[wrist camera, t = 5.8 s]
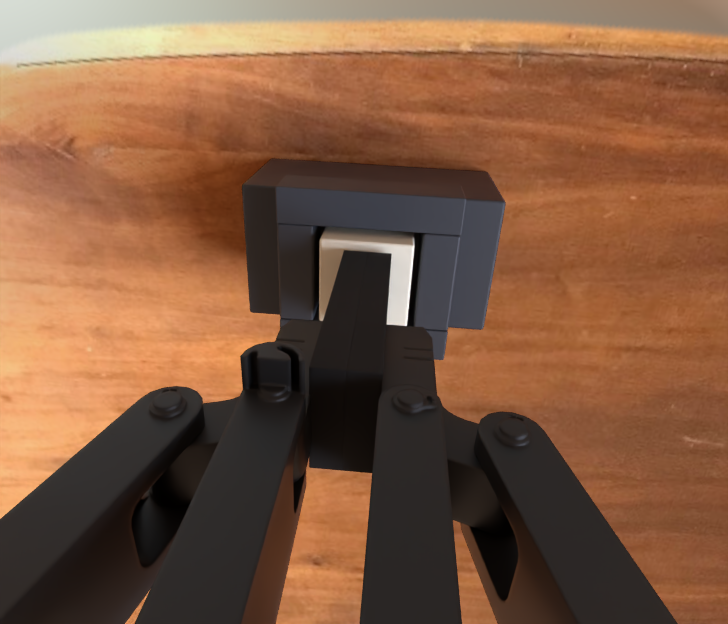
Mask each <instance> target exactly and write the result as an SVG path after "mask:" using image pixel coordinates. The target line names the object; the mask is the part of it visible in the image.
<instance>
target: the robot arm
mask: <svg viewBox="0 0 728 624" xmlns="http://www.w3.org/2000/svg"><path fill="white" fill-rule="evenodd" d="M391 256H392V254H391V253H377V252H362V251H348V250H344V252H343V255H342V259H341V262H340V265H339V269H338V272H337V275H336V279H335V282H334V285H333V289H332V292H331V296H330V299H329V302H328V306H327V309H326V312H325V316H324V319H323V321H317V320H304V319H292V320H290V321H289V322H288V323H286V324H285V325H284V326H282V327H281V329H280V331H279V333H278V336H277V338H276V340H275V342H266V343H262V344H258V345H255V346H253V347H251V348H249V349H247V350H246V351H245V352H244V353H243V354H242V355H241V356H240V357H241V369H242V382H243V391H242V393H241V395H240V396H239V397H236V398H234V399H230V400H225V401H219V402H211V403H204V404H203V401H202V397H201V396H200V395H199V393H198V392H197V391H195V390H192V389H190V388H188V387H179V386H174V387H166V388H161V389H158V390H155V391H152V392H150V393H148V394H147V395H145V396H144V397H142V398H141V399H139V400H138V401H137V402H136V403H135V404H134V405H132V406H131V407H130V408H129V409H128V410H127V411H125V412H124V413H123V414H122V415H121V416H120V417H118V418H117V419H116V420H115V421H114V422H113V423H111V424H110V425H109V426H108V427H107V428H106V429H105V430H103V431H102V432H101V433H100V434H99V435H98V436H96V437H95V438H94V439H93V440H92V441H91V442H89V443H88V444H87V445H86V446H85V447H84V448H82V449H81V450H80V451H79V452H78V453H77V454H75V455H74V456H73V457H72V458H71V459H70V460H68V461H67V462H66V463H65V464H64V465H63V466H62V467H60V468H59V469H58V470H57V471H56V472H55V473H53V474H52V475H51V476H50V477H49V478H48V479H46V480H45V481H44V482H43V483H42V484H41V485H39V486H38V487H37V488H36V489H35V490H34V491H32V492H31V493H30V494H29V495H28V496H27V497H25V498H24V499H23V500H22V501H21V502H20V503H19V504H17V505H16V506H15V507H14V508H13V509H12V510H10V511H9V512H8V513H7V514H6V515H5V516H3V517H2V518H1V519H0V624H125V623H126V621H127V620H128V619H129V617H130V616H131V615H132V613H133V612H134V610H135V609H136V608H137V606H138V605H139V604H140V602H141V601H142V600H143V598H144V597H145V596H146V594H147V593H148V591H149V590H150V592H149V594H148V596H147V598H146V600H145V602H144V604H143V607H142V609H141V611H140V613H139V615H138V617H137V620H136V622H135V624H276V619H277V615H278V610H279V606H280V601H281V597H282V592H283V588H284V583H285V579H286V574H287V570H288V565H289V561H290V556H291V552H292V547H293V543H294V538H295V534H296V529H297V525H298V520H299V516H300V511H301V507H302V502H303V498H304V493H305V489H306V467H307V462H308V458H309V467H310V468H321V469H333V470H344V471H355V472H366V473H372V484H371V496H370V507H369V519H368V531H367V543H366V555H365V566H364V578H363V590H362V602H361V614H360V624H462V619H461V608H460V597H459V586H458V575H457V564H456V552H455V541H454V530H453V520H455V521H458V522H460V523H461V530H462V533H463V535H464V538H465V540H466V543H467V546H468V548H469V551H470V553H471V556H472V558H473V561H474V564H475V566H476V569H477V571H478V574H479V576H480V579H481V582H482V584H483V587H484V589H485V592H486V594H487V597H488V600H489V602H490V605H491V607H492V610H493V612H494V615H495V618H496V620H497V623H498V624H677V622H676V621H675V619H674V618H673V616H672V615H671V613H670V612H669V611H668V609H667V608H666V606H665V605H664V603H663V602H662V600H661V599H660V598H659V596H658V595H657V593H656V592H655V590H654V589H653V587H652V586H651V585H650V583H649V582H648V580H647V579H646V577H645V576H644V574H643V573H642V572H641V570H640V569H639V567H638V566H637V564H636V563H635V561H634V560H633V558H632V557H631V556H630V554H629V553H628V551H627V550H626V548H625V547H624V545H623V544H622V543H621V541H620V540H619V538H618V537H617V535H616V534H615V532H614V531H613V530H612V528H611V527H610V525H609V524H608V522H607V521H606V519H605V518H604V517H603V515H602V514H601V512H600V511H599V509H598V508H597V506H596V505H595V504H594V502H593V501H592V499H591V498H590V496H589V495H588V493H587V492H586V491H585V489H584V488H583V486H582V485H581V483H580V482H579V480H578V479H577V478H576V476H575V475H574V473H573V472H572V470H571V469H570V467H569V466H568V464H567V463H566V462H565V460H564V459H563V457H562V456H561V454H560V453H559V451H558V450H557V449H556V447H555V446H554V444H553V443H552V441H551V440H550V438H549V437H548V436H547V434H546V433H545V431H544V430H543V429H542V428H541V427H540V426H539V425H538V424H537V423H536V422H534V421H532V420H531V419H529V418H527V417H525V416H522V415H519V414H516V413H512V412H496V413H491V414H488V415H487V416H485V417H484V418H482V419H481V421H480V423H479V424H477V423H474V422H471V421H467V420H464V419H462V418H459V417H457V416H455V415H453V414H452V413H450V412H448V411H447V410H446V409H445V408H444V407H443V406H442V403H441V401H440V398H439V397H438V396H437V390H436V378H435V366H434V354H433V341H432V337H431V336H430V335H429V333H428V332H427V331H426V330H425V328H424V327H413V326H400V325H387V311H388V297H389V283H390V270H391Z"/></svg>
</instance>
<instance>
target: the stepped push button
mask: <svg viewBox="0 0 728 624" xmlns="http://www.w3.org/2000/svg"><path fill="white" fill-rule="evenodd" d="M242 196H243V211H244V226H245V241H246V256H247V271H248V287H249V302H250V311H251V312H253V313H266V314H280V317H281V319H280V329H281V327H282V326H284V325H285V324H286V323H288V322H289V321H290V320H292V319H304V320H317V321H320V320H319V241H320V238H321V236H322V234H323V231H324V229H325V227H326V226H327V227H342V228H357V229H371V230H386V231H401V232H414V246H415V248H414V258H413V268H412V279H411V289H410V299H409V309H408V320H407V326H413V327H424V328H425V330H426V331H427V332H428V333H429V335H430V336H431V337H432V341H433V354H434V359H436V360H443V359H444V354H445V347H446V340H447V333H448V332H447V329H448V327H453V328H466V329H479V330H481V329H483V327H484V322H485V316H486V311H487V305H488V300H489V294H490V288H491V283H492V277H493V271H494V266H495V260H496V255H497V249H498V243H499V238H500V232H501V227H502V221H503V215H504V210H505V201H504V199H503V197H502V196H501V194H500V192H499V191H498V189H497V187H496V186H495V184H494V182H493V181H492V179H491V177H490V175H489V174H488V172H481V171H465V170H449V169H433V168H417V167H401V166H385V165H369V164H353V163H337V162H321V161H305V160H289V159H273V158H272V159H270V160H269V161H268V162H267V163H266V164H265V165H264V166H263V167H262V168H260V169H259V170H258V171H257V172H256V173H255V174H254V175H253V176H252V177H251V178H249V179H248V180H247V181H246V182H245V183H244V184H243V185H242Z"/></svg>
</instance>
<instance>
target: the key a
mask: <svg viewBox="0 0 728 624" xmlns="http://www.w3.org/2000/svg"><path fill="white" fill-rule="evenodd" d="M414 248H415V246H414V232H401V231H386V230H371V229H357V228H342V227H327V226H326V227H325V229H324V231H323V234H322V236H321V238H320V241H319V320H320V321H323V319H324V316H325V312H326V309H327V306H328V302H329V299H330V296H331V292H332V289H333V285H334V282H335V279H336V275H337V272H338V269H339V265H340V262H341V259H342V255H343V252H344V250H348V251H362V252H377V253H391V254H392V256H391V270H390V283H389V297H388V311H387V325H400V326H407V320H408V309H409V299H410V289H411V279H412V268H413V258H414Z"/></svg>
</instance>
